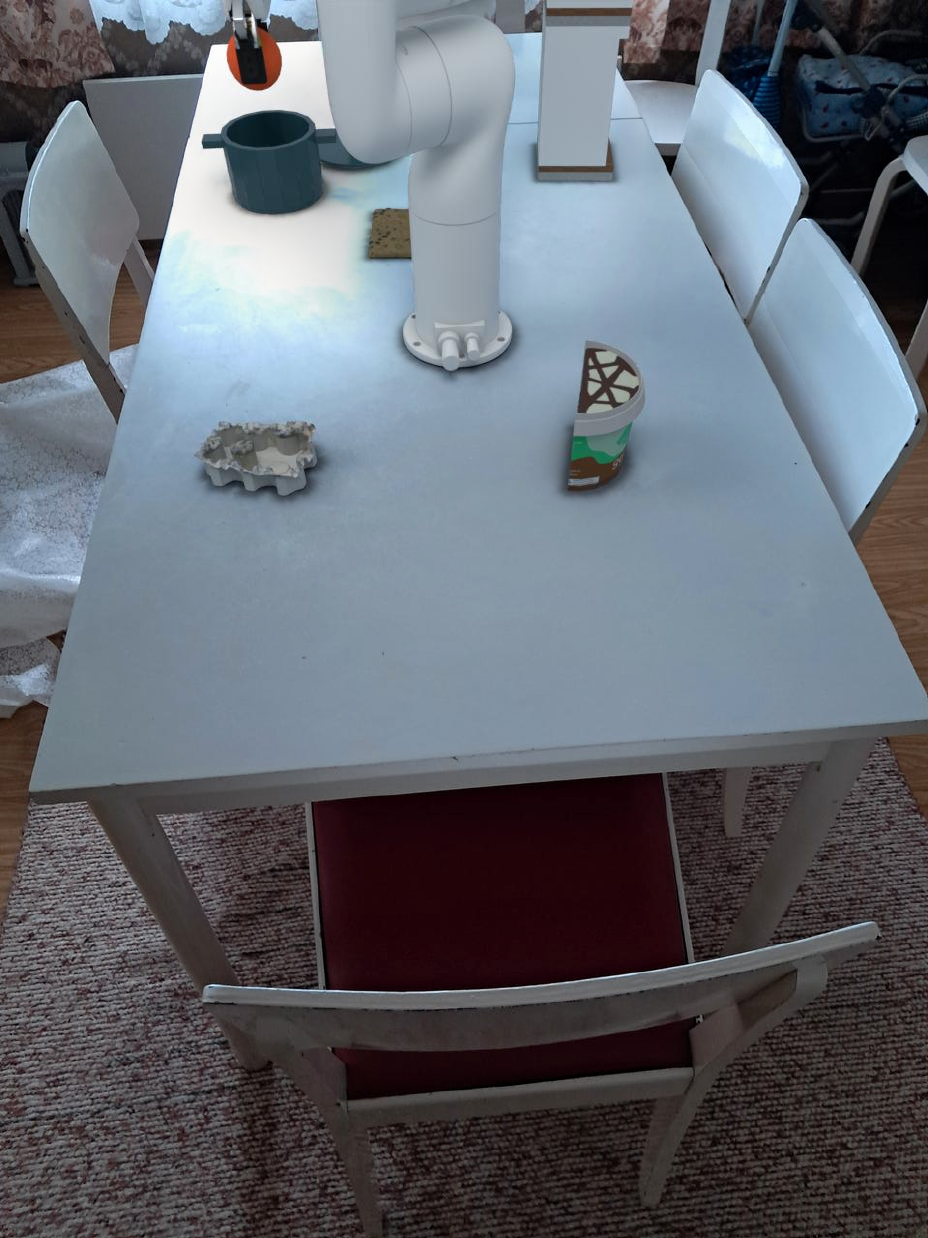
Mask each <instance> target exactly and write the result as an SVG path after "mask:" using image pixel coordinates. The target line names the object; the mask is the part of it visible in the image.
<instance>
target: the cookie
mask: <svg viewBox="0 0 928 1238" xmlns="http://www.w3.org/2000/svg"><path fill="white" fill-rule="evenodd" d="M372 215H373V217H372V223H371V234H370V237H369V241H368V244H369V247H368V253H367V255H368V258H412V254H411V238H410V223H409V208H391V207H385V208H375V209H374V212H373V213H372Z"/></svg>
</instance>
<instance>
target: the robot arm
mask: <svg viewBox="0 0 928 1238" xmlns="http://www.w3.org/2000/svg"><path fill="white" fill-rule="evenodd" d="M467 1H470V0H316V3H317V13H318V21H319V31H320V41H321V48H322V49H321V50H322V56H323V66H324V67H323V68H324V74H325V75H324V76H325V83H326V91H327V97H328V103H329V110H330V114H331V118H332V122H333V125H334V128H336V131H337V134H338V136H339V138H340V140H341V142H342V144H343V145H344V147H345V148H346V150H347V151H348V152H349V153H350V154H351V155H352V156H353V157H354V158H356V159H357V160H359V161H361V162H364V163H370V164H377V163H381V164H383V162H384V163H387V162H391V161H395V160H398V159H401V158H404V157H407V156H411V155H413V157H412V160H411V163H410V168H409V172H408V179H407V202H408V203H407V206H408V209H409V223H410V238H411V254H412V257H411V265H412V266H411V267H412V268H411V269H412V270H411V271H412V281H413V282H412V283H413V299H414V301H413V302H414V311H413V312H412V313H411V314H410V315H408V316H407V318H406V320H405V321H404V324H403V327H402V334H403V335H402V337H403V338H402V339H403V341H404V345H405V347H406V348H407V350H408V351H409V352H410V353H411V354H412V355H413V356H415V357H416V358H418V359H419V360H421V361H423V362H425V363H428V364H431V365H434V366H437V367H443V369H444V370H447V371H449V372H454V371H456V370H457V369H459V368H469V367H474V366H479V365H482V364H485V363H488V362H490V361H492V360H494V359H497V358H498V357H500V355H502V354H503V353H504V352H505V351H506V350H507V349H508V348H509V346H510V344H511V342H512V338H513V325H512V322H511V319H510V318H509V316H508V315H507V314H506V313H505V312H504V311H503V310H502V309H500V277H501V272H500V271H501V270H500V269H501V226H502V225H501V223H502V221H501V220H502V219H501V218H502V201H503V200H502V199H503V196H502V195H503V168H504V153H505V146H506V138H507V134H508V133H507V132H508V127H509V122H510V118H511V113H512V108H513V102H514V99H515V98H514V97H515V89H516V65H515V58H514V54H513V51H512V48H511V45H510V42H509V40H508V38H507V37H506V35H505V33H503V31H502V30H501V28H499V27H498V26H497V25H496V23H495V24H494V23H492V22H491V21H489V20H487V19H485V18H483V17H479V16H476V15H454V16H448V17H443V18H439V19H435V20H431V21H427V22H423V23H420V24H416V25H412V26H408V27H406V28H404V29H401V30H397V25H398V22H399V21H400V20H401V19H404V18H409V17H412V16H416V15H420V14H424V13H428V12H432V11H436V10H440V9H444V8H447V7H451V6H455V5H458V4H461V3H464V2H467ZM221 3H222V7H223V12H224V16H225V19H226V21H228V22H229V23H231V24H232V30H233V31H232V32H233V35H234V40H235V51H236V56H237V61H238V66H239V72H240V77H241V82H242V83H243V84H244V85H251V84H266V83H267V74H266V68H265V62H264V56H263V50H262V46H259V40H258V31H257V27H259V28H261V29H263V30H264V31H266V32H267V33H269V28H268V22H267V19H268V17H269V14H270V10H271V4H272V0H221ZM248 26H249V27H252V31H251V30H250V28H249V27H248Z"/></svg>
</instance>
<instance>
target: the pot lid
mask: <svg viewBox="0 0 928 1238" xmlns="http://www.w3.org/2000/svg"><path fill="white" fill-rule="evenodd" d="M336 135H337V136H336V143H326V144H318V148H319V155H320V162H321V164H324V165H327V166H329V167H330V166H331V167H336V168H340V169H341V168H342V169H360V168H361V169H362V168H368V167H374V166H378V165H381V164H383V163H385V162H383V163H377V164H370V163H364V162H361V161H359V160H357V159H356V158H354V157H353V156H352V155H351V154H350V153H349V152H348V151H347V150H346V148H345V147H344V145H343V144H342V142H341V140H340V138H339V136H338V134H337V131H336Z"/></svg>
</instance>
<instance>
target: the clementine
mask: <svg viewBox="0 0 928 1238" xmlns="http://www.w3.org/2000/svg"><path fill="white" fill-rule="evenodd" d="M248 27H249V26H248ZM249 28H250V30H251V31H252V27H249ZM257 31H258V40H259V46H262V50H263V56H264V62H265V68H266V74H267V83H266V84H251V85H244V84H243V83H242V82H241V77H240V72H239V66H238V61H237V56H236V51H235V40H234V34H233V35H232V36H230V39H229V41H228V44H227V47H226V62H227V66H228V68H229V71H230V73H231V76H232V77H233V78H234V79H235V81H236V82H237V83H239V85H240V86H242V87H244V88H246V89H247V90H250V91H255V92H263V91H265V90H267V89H270V88H271V87H272V86H274V85H275V84H276V83H277V81H278V80H279V77H280V76H281V72H282V67H283V57H282V52H281V48H280V47H279V45H278V43H277V42H276V39H275V38H274V37H273V36H272V35H271V34H270V33H269V32H268V33H267V32H266V31H264V30H263V29H261V28H259V27H257Z"/></svg>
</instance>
